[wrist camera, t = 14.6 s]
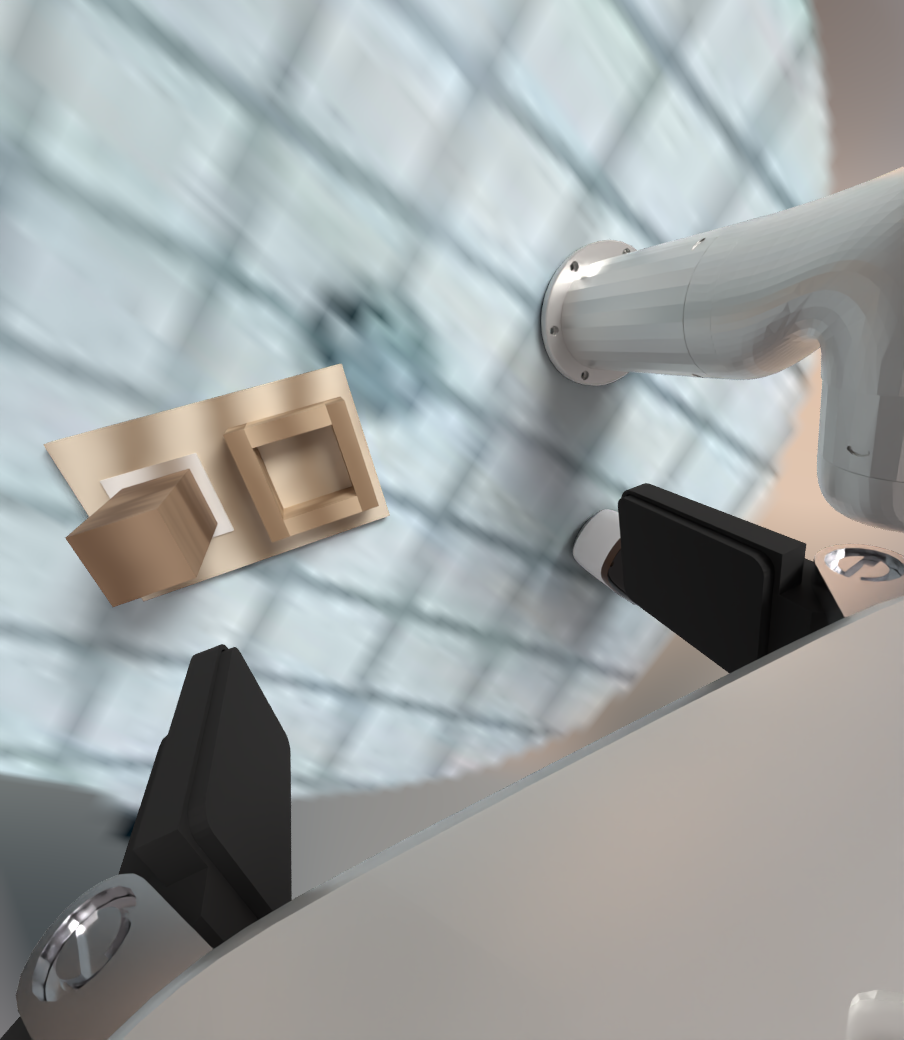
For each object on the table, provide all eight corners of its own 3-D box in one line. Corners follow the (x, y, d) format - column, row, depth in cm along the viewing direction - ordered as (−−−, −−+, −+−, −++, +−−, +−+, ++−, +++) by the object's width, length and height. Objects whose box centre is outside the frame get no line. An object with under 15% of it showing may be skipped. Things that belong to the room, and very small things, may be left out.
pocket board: (340, 363, 38) (345, 365, 34) (387, 512, 44) (396, 526, 40) (49, 441, 33) (21, 453, 30) (146, 595, 39) (132, 620, 36)
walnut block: (189, 468, 36) (157, 508, 27) (217, 523, 38) (196, 577, 29) (121, 488, 35) (65, 537, 26) (154, 544, 37) (113, 607, 28)
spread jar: (553, 549, 52) (619, 599, 42) (612, 466, 51) (695, 497, 40) (616, 589, 57) (688, 642, 47) (670, 515, 56) (757, 554, 46)
